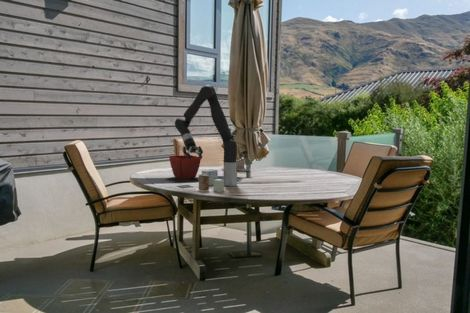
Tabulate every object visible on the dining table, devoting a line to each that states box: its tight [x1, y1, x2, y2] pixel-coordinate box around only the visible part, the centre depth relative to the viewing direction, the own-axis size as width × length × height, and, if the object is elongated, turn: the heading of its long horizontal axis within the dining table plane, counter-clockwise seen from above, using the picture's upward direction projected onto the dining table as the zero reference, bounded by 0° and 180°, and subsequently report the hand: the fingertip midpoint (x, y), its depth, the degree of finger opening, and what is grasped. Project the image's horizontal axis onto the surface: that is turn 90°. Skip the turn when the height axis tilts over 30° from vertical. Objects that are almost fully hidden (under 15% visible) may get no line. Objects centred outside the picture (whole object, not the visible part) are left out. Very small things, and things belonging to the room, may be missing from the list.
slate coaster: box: [176, 184, 194, 189], centre depth 301 cm, size 9×9×1 cm
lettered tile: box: [195, 188, 212, 192], centre depth 291 cm, size 9×9×1 cm
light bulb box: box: [201, 168, 219, 186], centre depth 314 cm, size 11×7×11 cm, turn 141°
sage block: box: [212, 178, 225, 193], centre depth 288 cm, size 5×5×8 cm
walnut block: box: [198, 174, 210, 192], centre depth 291 cm, size 5×5×10 cm
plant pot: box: [168, 154, 202, 180], centre depth 342 cm, size 19×19×17 cm
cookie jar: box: [221, 159, 247, 172], centre depth 397 cm, size 25×25×32 cm
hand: (195, 158), depth 299 cm, fingers open, 8 cm apart
